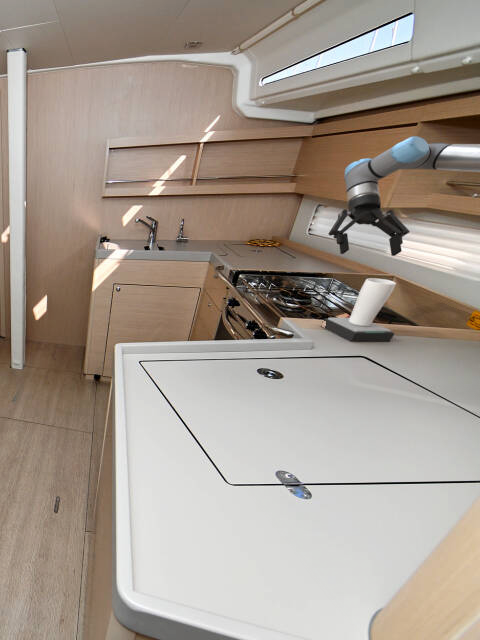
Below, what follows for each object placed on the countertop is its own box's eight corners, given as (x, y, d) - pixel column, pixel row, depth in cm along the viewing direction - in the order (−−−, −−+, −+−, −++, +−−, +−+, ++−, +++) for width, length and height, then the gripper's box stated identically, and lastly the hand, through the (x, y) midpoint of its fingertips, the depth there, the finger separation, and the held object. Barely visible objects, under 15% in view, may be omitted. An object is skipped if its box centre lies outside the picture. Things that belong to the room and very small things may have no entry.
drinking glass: (346, 325, 118) (368, 282, 111) (342, 318, 123) (363, 276, 116) (375, 329, 115) (399, 285, 108) (370, 322, 120) (393, 279, 113)
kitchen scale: (389, 341, 115) (395, 331, 113) (350, 341, 116) (356, 331, 114) (355, 326, 126) (361, 316, 124) (320, 326, 126) (325, 316, 125)
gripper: (400, 207, 124) (408, 260, 118) (312, 207, 131) (316, 256, 125) (420, 192, 117) (430, 247, 111) (326, 193, 124) (331, 244, 118)
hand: (370, 252), depth 118 cm, fingers open, 13 cm apart
